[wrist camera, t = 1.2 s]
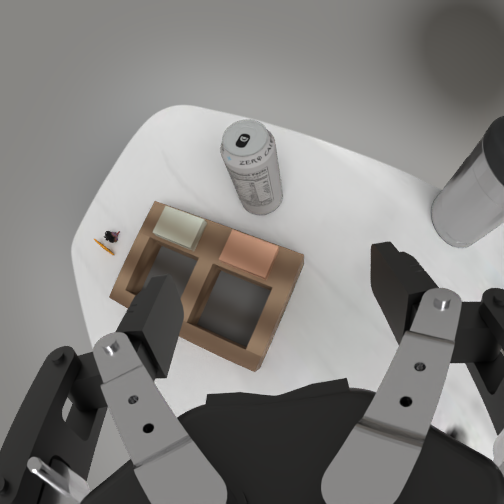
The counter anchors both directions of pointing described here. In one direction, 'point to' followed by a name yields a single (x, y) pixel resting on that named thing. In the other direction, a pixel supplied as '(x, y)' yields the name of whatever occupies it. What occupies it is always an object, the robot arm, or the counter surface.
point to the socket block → (214, 281)
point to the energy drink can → (253, 165)
